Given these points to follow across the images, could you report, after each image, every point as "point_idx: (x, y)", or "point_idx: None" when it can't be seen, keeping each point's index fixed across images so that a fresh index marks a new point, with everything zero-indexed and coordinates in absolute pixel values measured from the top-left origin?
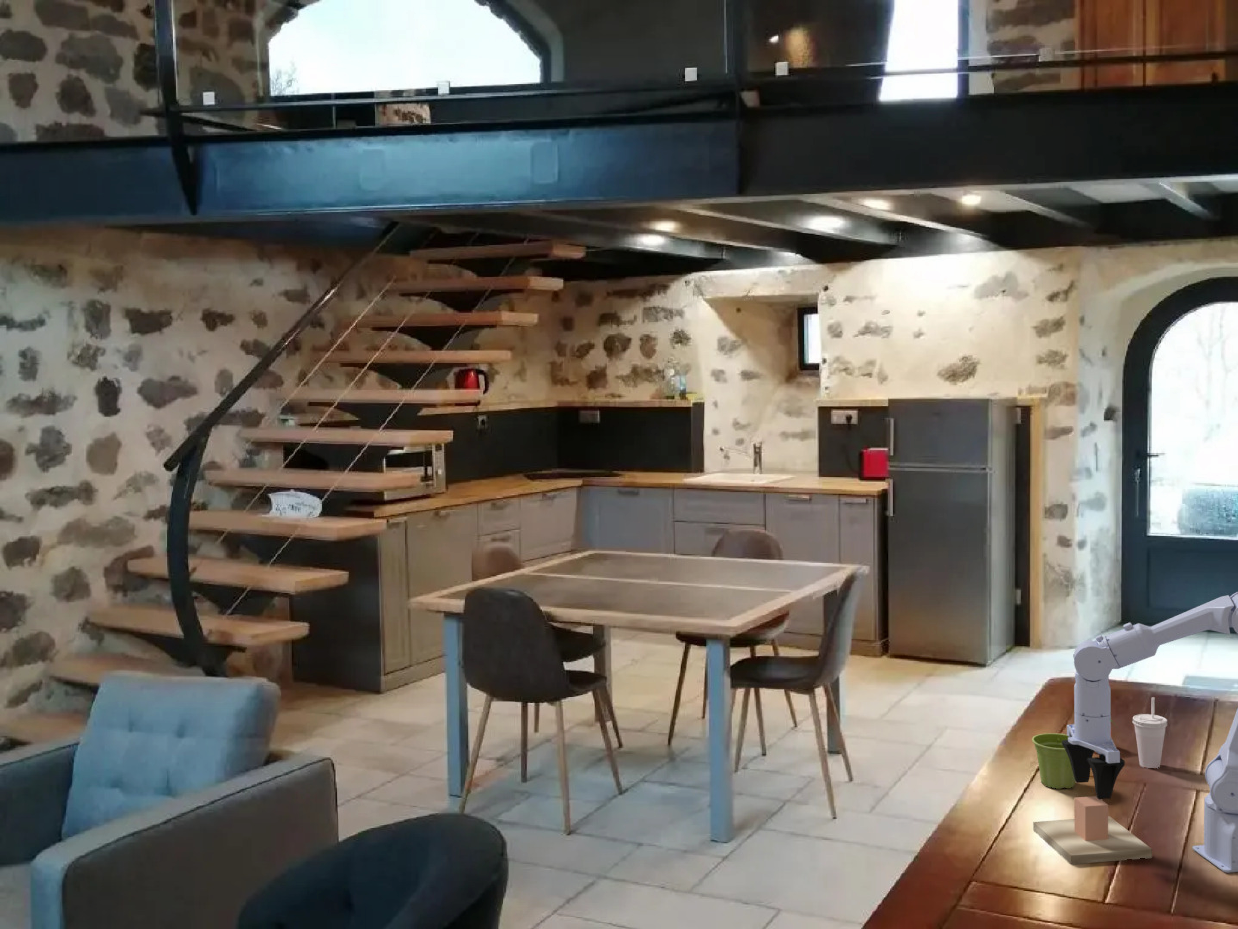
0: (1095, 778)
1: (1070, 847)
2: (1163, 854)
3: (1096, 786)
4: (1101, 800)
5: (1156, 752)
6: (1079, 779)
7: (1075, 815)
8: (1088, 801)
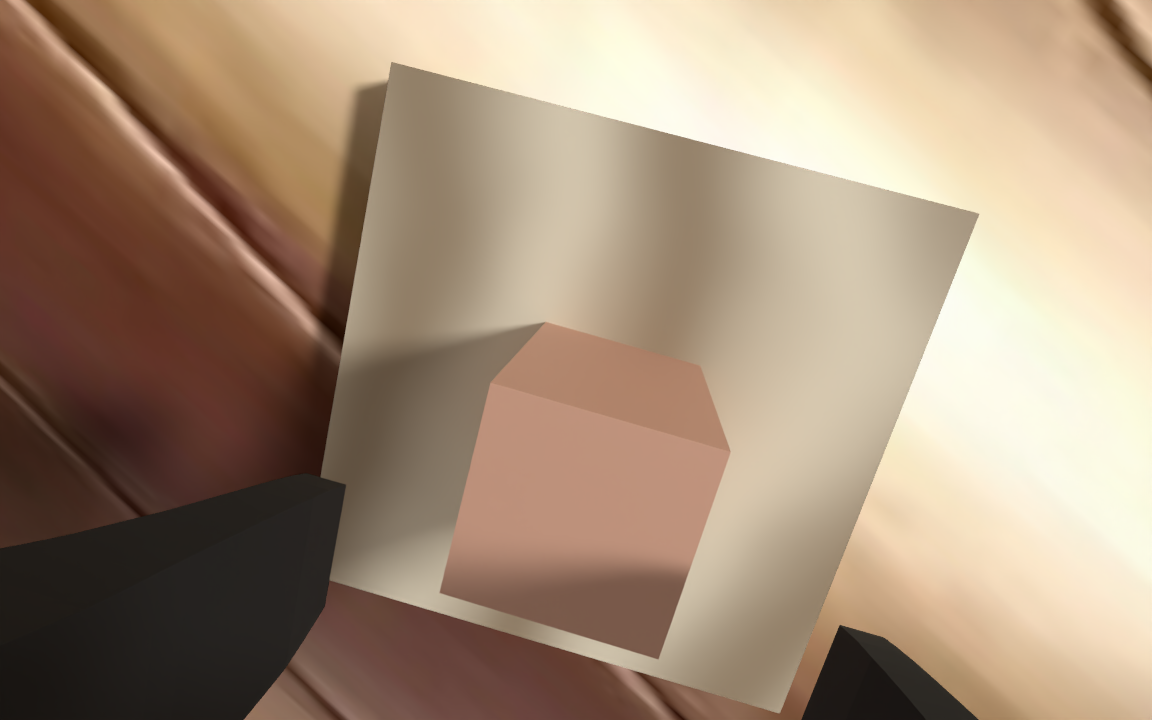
0: (62, 567)
1: (495, 151)
2: (349, 626)
3: (184, 513)
4: (548, 617)
5: None
6: (841, 682)
7: (691, 393)
8: (581, 499)
